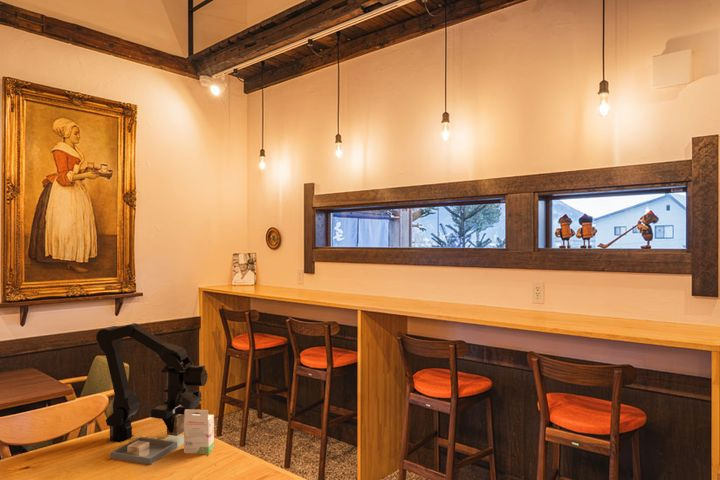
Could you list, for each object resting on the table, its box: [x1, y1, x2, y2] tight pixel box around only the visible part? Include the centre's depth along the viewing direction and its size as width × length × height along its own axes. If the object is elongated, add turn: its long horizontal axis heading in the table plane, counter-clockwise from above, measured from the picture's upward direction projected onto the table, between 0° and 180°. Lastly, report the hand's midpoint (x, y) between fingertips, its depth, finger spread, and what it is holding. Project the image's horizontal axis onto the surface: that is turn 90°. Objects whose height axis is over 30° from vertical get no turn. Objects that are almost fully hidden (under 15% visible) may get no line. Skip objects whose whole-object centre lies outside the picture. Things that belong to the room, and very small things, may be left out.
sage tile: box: [162, 434, 184, 448], centre depth 168 cm, size 9×9×1 cm
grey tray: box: [110, 436, 178, 466], centre depth 158 cm, size 15×13×2 cm
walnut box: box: [166, 413, 185, 436], centre depth 168 cm, size 4×4×6 cm
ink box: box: [183, 409, 215, 456], centre depth 160 cm, size 9×5×15 cm, turn 84°
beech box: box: [127, 441, 149, 457], centre depth 155 cm, size 4×4×4 cm
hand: (175, 430), depth 168 cm, fingers closed on walnut box, 4 cm apart
